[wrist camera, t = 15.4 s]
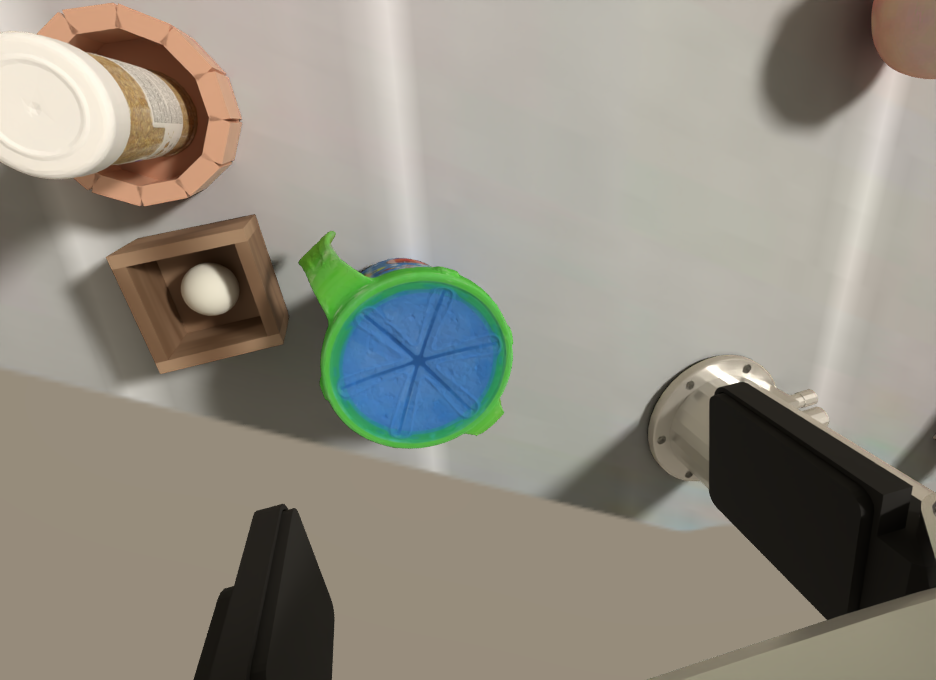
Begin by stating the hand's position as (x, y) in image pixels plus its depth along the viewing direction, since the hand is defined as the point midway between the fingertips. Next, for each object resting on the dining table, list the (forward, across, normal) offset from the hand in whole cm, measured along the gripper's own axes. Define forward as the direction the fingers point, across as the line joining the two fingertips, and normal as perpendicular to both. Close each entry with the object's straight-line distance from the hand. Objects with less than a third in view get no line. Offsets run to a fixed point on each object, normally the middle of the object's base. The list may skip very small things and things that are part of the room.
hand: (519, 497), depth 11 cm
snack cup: (+27, +2, +4) cm, 27 cm away
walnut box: (+26, +12, -1) cm, 29 cm away
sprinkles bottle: (+26, +12, -11) cm, 30 cm away
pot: (+26, +12, -11) cm, 31 cm away
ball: (+26, +12, -1) cm, 29 cm away
